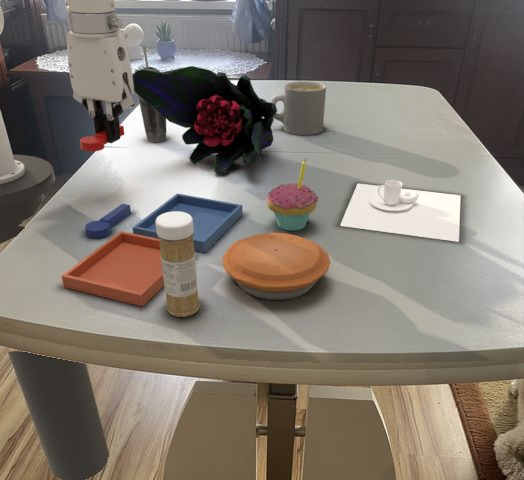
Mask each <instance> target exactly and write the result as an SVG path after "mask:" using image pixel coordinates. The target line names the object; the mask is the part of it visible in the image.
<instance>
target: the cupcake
mask: <svg viewBox="0 0 524 480" xmlns="http://www.w3.org/2000/svg"><path fill="white" fill-rule="evenodd" d="M307 159H308V158H307V157H305V158H304V161H302V163H301V168H300V172H299V177H298V180H297V182H295V183H282V184H279V185H277V186H275V187H274V188H272V189H271V190H270V191H268V195H267V198H266V203H267V209H269V211H272V212H273V215H274V217H275V219H276V223H277V226H278V227H279V228H280V229H281V230H284V231H290V232H296V231H300V230H303V229H304V228H305V227H306V225H307V221H308V219H309V216H310V215H311V213H312V212H314V211H315V210H316V209H317V205H318V201H319V197H318V196H317V194H316V193H315V192H314V190H313V189H311V188H310V187H309V186H307V185H305V184H303V182H304V176H305V171H306V168H307V162H306V161H307Z"/></svg>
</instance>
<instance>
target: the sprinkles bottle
mask: <svg viewBox="0 0 524 480" xmlns="http://www.w3.org/2000/svg"><path fill="white" fill-rule="evenodd" d="M156 232H157V235H158V238H159V243H160V252H161V263H162V271H163V279H164V286H163V288H164V292H165V298H166V310H167V313H169V314H170V315H171V316H173V317H178V318H186V317H190V316H193V315H194V314H196V313H197V312H199V310H200V307H201V305H200V302H199V295H198V294H199V293H198V292H199V291H198V275H197V262H196V253H195V251H194V243H193V232H194V226H193V219H192V217H191V215H189V214H187V213H185V212H179V211H173V212H167V213H164V214H161V215H160V216H158V217H157V218H156Z"/></svg>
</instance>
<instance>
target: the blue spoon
mask: <svg viewBox="0 0 524 480" xmlns="http://www.w3.org/2000/svg"><path fill="white" fill-rule="evenodd" d="M131 214H132V210H131V205H130V204H127V203H121V204H120V205H119V206H117V207H115V208H114V209H112V210H111V211H110V212H108V213H107V214H105V215H104V216H102V217H101V218H99V220H92V221H90V222H88V223H86V224H85V226H84V228H85V233H86V236H87V237H88V238H90V239H102V238H106V237H108V236H109V235H110V234H111V232H112V228H113V227H114V226H116V225H117V224H119V223H120V222H121V221H123V220H124V219H126V218H127V217H129V216H130V215H131Z"/></svg>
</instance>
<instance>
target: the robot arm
mask: <svg viewBox="0 0 524 480" xmlns="http://www.w3.org/2000/svg"><path fill="white" fill-rule="evenodd" d="M64 5H65V10H66V15H67V22H68V28H69V31H68V32H67V37H66V38H67V39H66V44H67V45H66V48H67V63H68V72H69V80H70V85H71V88H72V91H73V92H72V98H73V100H75V101H77V102H78V103H80V104H82V105H83V106H84V107H85V109H86V111H88V114H89V116H90V118H92V120H93V126H94V133H95V134H97V133H99V132H102V131H104V130H106V134H107V140H108V143H107V144H113V143H115V142H117V141H119V140H121V137H120V117H121V116H122V114H123V113H124V111H126V110H129V109H130V110H131V109H132V108H134V107H135V106H136V105H135V101H134V98H133V97H134V95H135V91H134V84H133V77H132V76H133V71H132V66H131V60H130V54H129V52H128V47H127V44H126V40H125V37H124V35H123V34H122V33H119V29H121V28H122V27H123V20H122V19H121V18H120V17H117V12H116V4H115V0H64ZM4 27H5V17H4V12H3V9H2V6H1V5H0V35H2V33H3V30H4ZM121 101H122V102H121ZM103 102H104V103H103ZM104 105H105V109H104ZM105 112H106V113H105ZM9 139H10V138H9V136H8V132H7V128H6V124H5V121H4V118H3V114H2V111H1V109H0V185H1V184H5V183H9V182H11V181H14V180H16V179H18V178H20V177H21V176H22V175H24V173H25V167H24V164H23V163H21V162H20V161H17V160H14V157H13V155H14V154H13V151H12V147H11V142H10V140H9Z"/></svg>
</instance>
